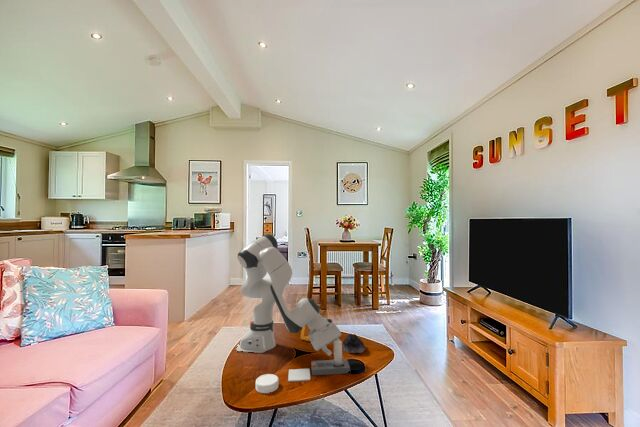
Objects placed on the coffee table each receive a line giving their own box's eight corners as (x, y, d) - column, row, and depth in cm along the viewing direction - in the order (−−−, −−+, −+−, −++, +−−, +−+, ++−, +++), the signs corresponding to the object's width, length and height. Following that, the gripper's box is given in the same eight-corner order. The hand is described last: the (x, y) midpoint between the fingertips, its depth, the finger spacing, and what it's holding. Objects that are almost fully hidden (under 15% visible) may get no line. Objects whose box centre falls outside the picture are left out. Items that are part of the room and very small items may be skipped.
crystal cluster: (355, 343, 173) (353, 326, 173) (371, 349, 161) (368, 331, 162) (337, 351, 165) (335, 333, 166) (352, 358, 154) (350, 339, 155)
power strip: (312, 375, 136) (311, 368, 136) (311, 366, 145) (311, 359, 145) (350, 373, 137) (350, 366, 137) (347, 364, 146) (346, 357, 146)
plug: (333, 372, 138) (332, 344, 139) (332, 366, 144) (331, 339, 144) (345, 371, 139) (344, 343, 139) (343, 366, 144) (342, 339, 145)
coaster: (277, 393, 122) (277, 384, 123) (253, 394, 122) (253, 386, 122) (279, 380, 132) (279, 372, 132) (257, 382, 131) (257, 374, 132)
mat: (288, 381, 131) (288, 380, 131) (288, 370, 141) (288, 369, 141) (310, 380, 131) (310, 379, 131) (309, 369, 141) (309, 368, 141)
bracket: (310, 342, 174) (309, 322, 174) (300, 340, 178) (300, 320, 178) (320, 337, 183) (320, 317, 183) (311, 334, 187) (310, 315, 187)
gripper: (310, 329, 138) (327, 355, 132) (333, 318, 155) (349, 340, 149) (303, 337, 140) (320, 362, 134) (326, 325, 157) (342, 347, 151)
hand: (335, 351), depth 142 cm, fingers open, 8 cm apart
